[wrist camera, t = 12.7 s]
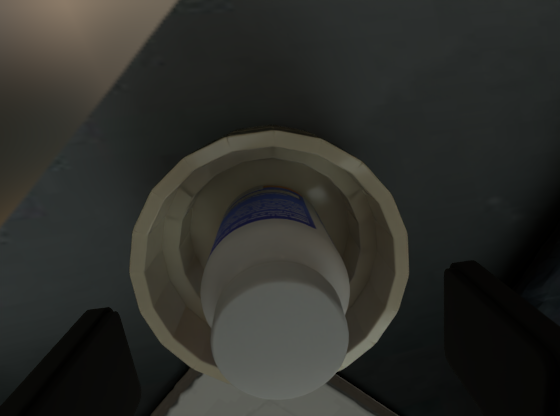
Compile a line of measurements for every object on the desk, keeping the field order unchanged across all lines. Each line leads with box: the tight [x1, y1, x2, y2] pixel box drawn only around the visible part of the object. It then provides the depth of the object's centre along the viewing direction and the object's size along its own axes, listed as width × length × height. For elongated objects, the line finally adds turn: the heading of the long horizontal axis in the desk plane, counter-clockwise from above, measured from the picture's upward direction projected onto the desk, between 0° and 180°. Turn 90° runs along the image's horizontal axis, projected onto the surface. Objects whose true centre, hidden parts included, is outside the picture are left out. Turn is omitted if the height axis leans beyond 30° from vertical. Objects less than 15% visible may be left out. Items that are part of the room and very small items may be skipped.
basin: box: [129, 125, 409, 385], centre depth 17 cm, size 11×11×6 cm
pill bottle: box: [200, 185, 350, 400], centre depth 15 cm, size 5×5×10 cm
